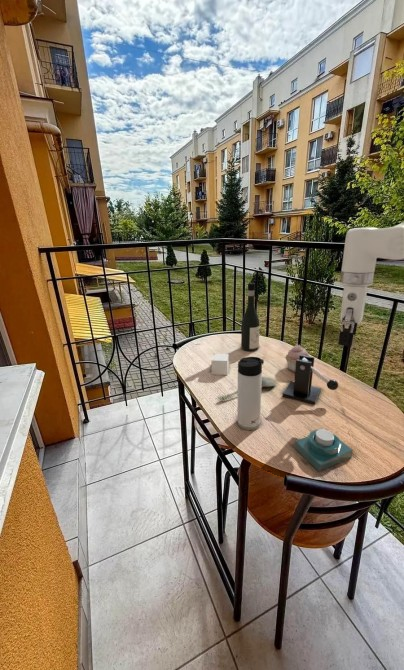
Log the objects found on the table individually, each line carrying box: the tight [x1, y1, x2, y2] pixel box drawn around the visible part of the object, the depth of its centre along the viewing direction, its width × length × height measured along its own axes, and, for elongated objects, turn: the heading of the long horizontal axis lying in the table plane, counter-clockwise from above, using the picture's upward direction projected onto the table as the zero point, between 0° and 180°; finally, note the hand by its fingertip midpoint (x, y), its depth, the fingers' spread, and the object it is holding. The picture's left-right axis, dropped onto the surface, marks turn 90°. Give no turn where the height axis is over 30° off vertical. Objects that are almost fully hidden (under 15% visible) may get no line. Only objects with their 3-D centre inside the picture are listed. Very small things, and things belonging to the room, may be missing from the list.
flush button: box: [315, 428, 335, 446], centre depth 66 cm, size 4×4×2 cm
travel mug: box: [237, 356, 265, 431], centre depth 76 cm, size 6×7×20 cm
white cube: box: [210, 353, 230, 376], centre depth 108 cm, size 6×6×6 cm
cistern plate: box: [294, 429, 354, 472], centre depth 67 cm, size 10×8×4 cm
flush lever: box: [302, 357, 339, 391], centre depth 87 cm, size 13×3×3 cm, turn 57°
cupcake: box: [284, 344, 310, 373], centre depth 107 cm, size 9×9×10 cm
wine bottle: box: [240, 282, 261, 352], centre depth 124 cm, size 8×8×30 cm
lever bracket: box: [282, 355, 322, 406], centre depth 90 cm, size 10×9×13 cm
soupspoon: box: [219, 376, 276, 403], centre depth 94 cm, size 22×3×7 cm
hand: (347, 339), depth 79 cm, fingers open, 9 cm apart
